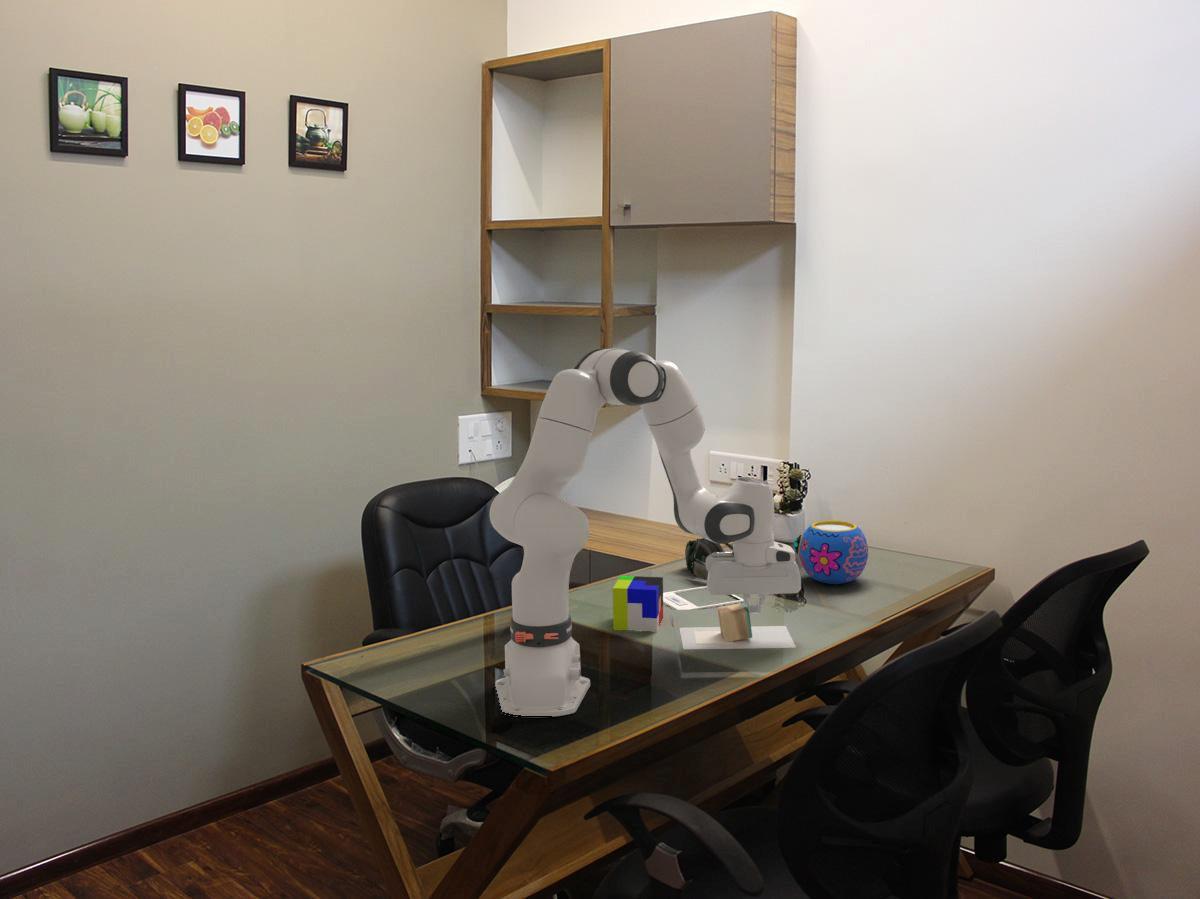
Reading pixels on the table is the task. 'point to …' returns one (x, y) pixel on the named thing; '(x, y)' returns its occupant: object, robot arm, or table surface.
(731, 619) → the wood cube
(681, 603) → the photo frame
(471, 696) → the table surface
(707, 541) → the headphones
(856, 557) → the ceramic pot
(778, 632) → the grey board
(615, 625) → the puzzle toy
